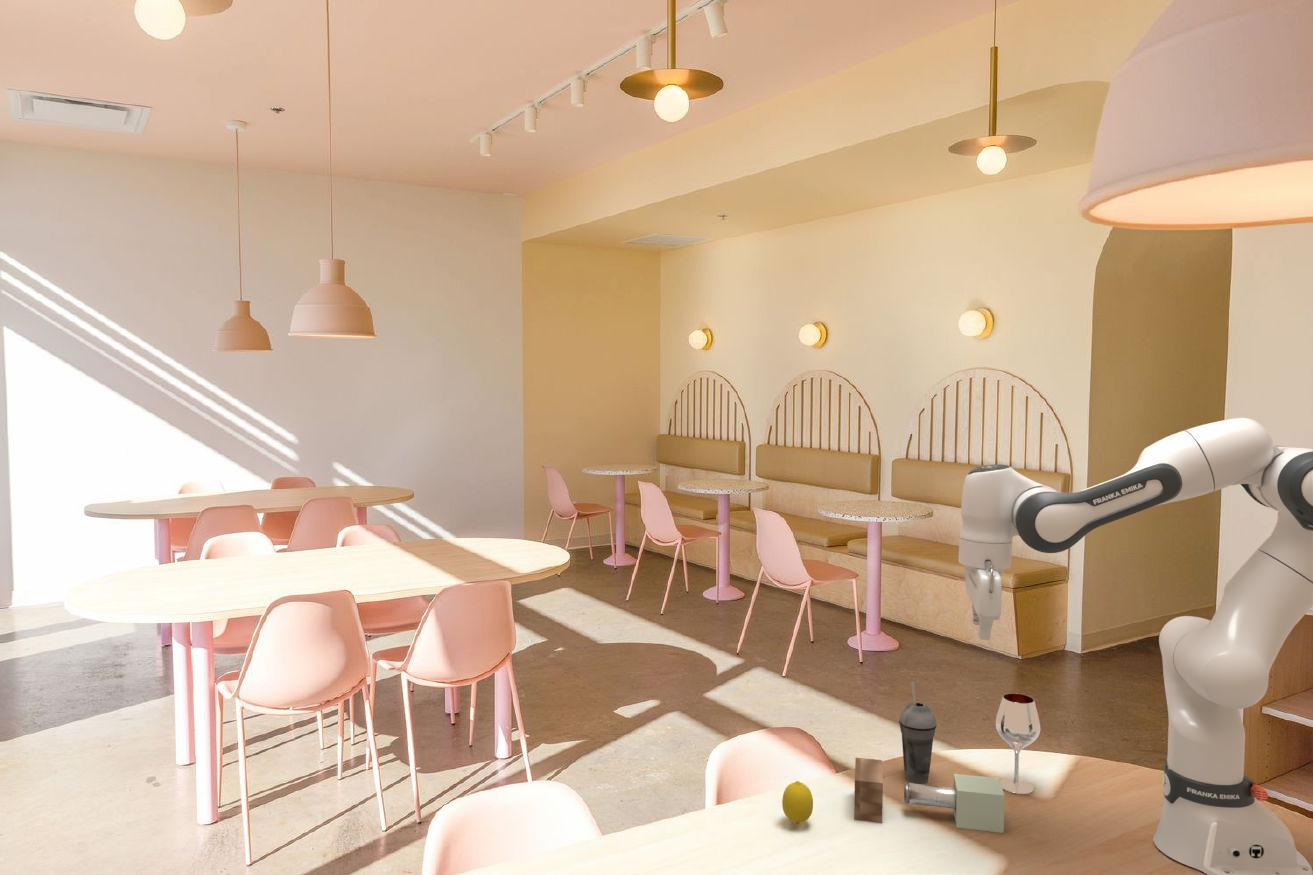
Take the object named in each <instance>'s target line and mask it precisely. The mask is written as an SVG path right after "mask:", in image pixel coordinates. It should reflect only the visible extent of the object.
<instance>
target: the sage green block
mask: <svg viewBox="0 0 1313 875" xmlns="http://www.w3.org/2000/svg"><path fill="white" fill-rule="evenodd" d="M1000 781H1001V779H1000V778H999V777H989V776H981V775H971V774H962V773H953V787H952V788H956V791H957V797H956V809H952V811H953V817H954V823H955V826H956V827H955V828H957V829H965V830H974V831H982V832H991V833H1000V834H1004V833H1005V830H1004V829H1005V800H1006V798H1005V797H1006V796H1005V792H1004V790H1003V789H1002V786H1001V783H1000Z"/></svg>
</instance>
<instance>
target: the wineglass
mask: <svg viewBox="0 0 1313 875" xmlns="http://www.w3.org/2000/svg"><path fill="white" fill-rule="evenodd" d="M995 728H996V731H997V733H998V734H999V736H1000V737H1001V739H1003V741H1004V742H1006V743H1007V744H1008V745H1009V746H1010V747H1011V748H1012V750H1013V752H1014V769H1013V770H1014V772H1013V778H1003V779H1002V780H1001V779H1000V783H1001V786H1002V789H1003V791H1005V792H1007V793H1011V794H1013V795H1028V794H1029V795H1030V794H1032V793H1033V792H1034V790H1035V789H1034V786H1033V785H1032V784H1031V783H1030V782H1027V781H1026V780H1025V781H1024V780H1023V779H1019V778H1020V776H1019V770H1020V769H1019V768H1020V753H1021V751H1022V750H1023V749H1025V748H1026V747H1028V746H1030V745H1031V744H1032V743H1034V742H1035V741H1036V740H1037V739H1038V737H1039V736H1040V734H1041V723H1040V718H1039V713H1038V709H1037V706H1036V702H1035V699H1034V698H1033V697H1031V696H1030V695H1026V694H1023V693H1017V692H1011V693H1005V694H1003V695H1002V698H1001V701H1000V704H999V707H998V711H997V713H996V717H995Z"/></svg>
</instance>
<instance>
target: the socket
mask: <svg viewBox="0 0 1313 875" xmlns="http://www.w3.org/2000/svg"><path fill="white" fill-rule="evenodd" d="M883 771H884V770H883V760H882V759H874V758H863V757H855V764H854V804H853V805H854V807H853V810H854V811H853V818H854V819H853V820H854V821H859V822H860V821H861V822H868V823H877V824H883V808H884V807H883V805H884V804H883V800H884V799H883V797H884V794H883V793H884V792H883V790H884V778H883V777H884V775H883V773H884V772H883Z"/></svg>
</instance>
